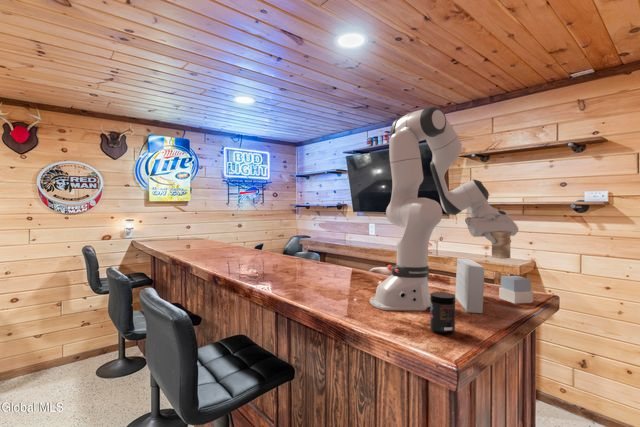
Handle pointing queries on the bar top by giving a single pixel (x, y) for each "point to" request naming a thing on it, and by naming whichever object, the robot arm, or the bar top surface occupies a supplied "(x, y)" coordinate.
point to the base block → (516, 296)
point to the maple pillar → (501, 245)
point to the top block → (516, 283)
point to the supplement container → (442, 313)
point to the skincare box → (470, 285)
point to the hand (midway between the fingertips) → (502, 242)
